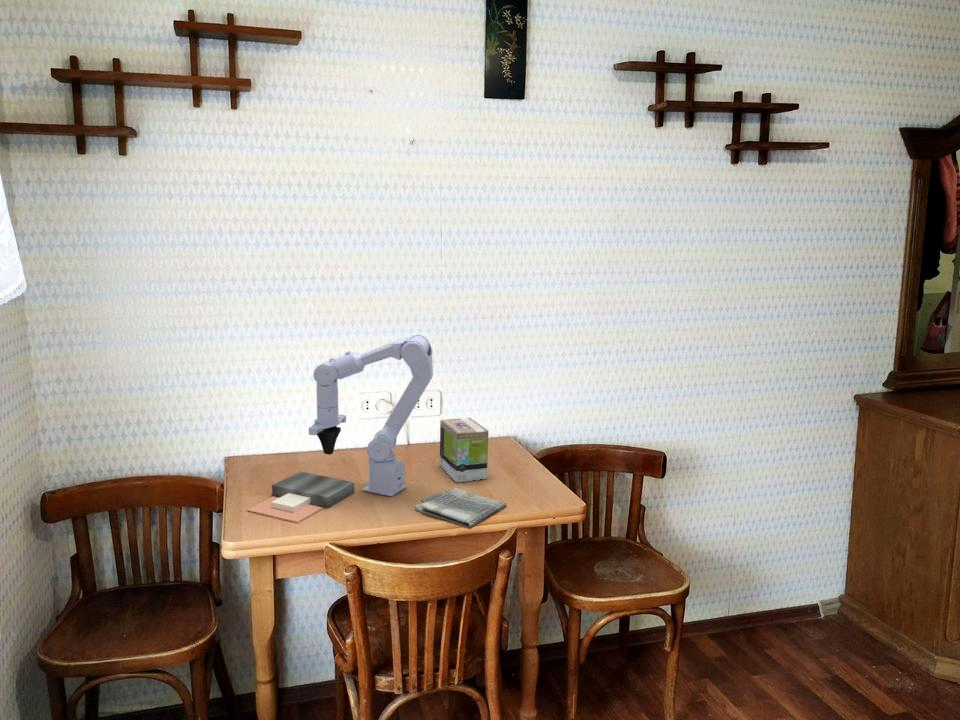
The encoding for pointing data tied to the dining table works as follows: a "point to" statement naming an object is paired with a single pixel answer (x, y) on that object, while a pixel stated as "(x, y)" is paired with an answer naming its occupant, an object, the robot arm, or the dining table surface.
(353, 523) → the dining table surface
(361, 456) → the dining table surface
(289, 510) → the coaster
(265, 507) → the mat
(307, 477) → the plate
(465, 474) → the tea box
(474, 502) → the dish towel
